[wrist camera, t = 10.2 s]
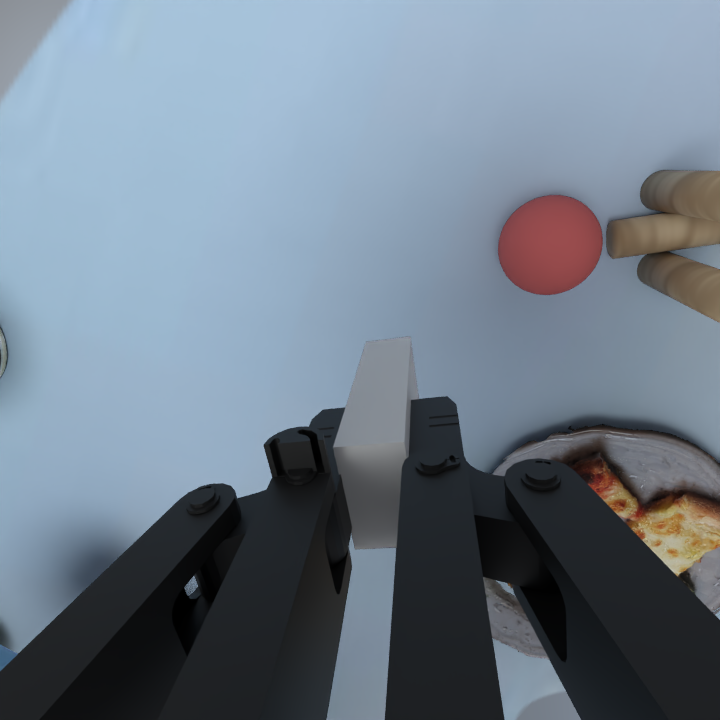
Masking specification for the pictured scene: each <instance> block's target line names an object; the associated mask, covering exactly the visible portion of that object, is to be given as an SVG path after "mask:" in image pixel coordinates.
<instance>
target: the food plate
mask: <svg viewBox="0 0 720 720" xmlns="http://www.w3.org/2000/svg"><path fill="white" fill-rule="evenodd" d="M570 427H571V426H570ZM570 427H569V429H570V430H572V431H573V432H574V433H571V434H568V433H566V432H558V433H557V432H556V433H554V434H551V435H550V436H549V437H548V438H547V439H546V440H545V441H541V442H537V441H535V440H534V441H529V442H527V443H526V444H524V445H522V446H521V447H520V448H518V449H517V450H515V452H513V453H511V454H510V455H509V456H507V457H509V458H508V459H506V458H507V457H506V458H504V459H506V461H505V462H503V463H501V464H500V465H499V466H498V467H497V468H496V469H495V471H494V472H493V473H492V474H493V475H499V476H505V473H506V470H507V469H508V468H509V467H511V466H512V465H513V464H514V463H517V462H520V461H523V460H526V459H537V458H540V459H549V460H554V461H557V462H560V463H563V464H566V465H567V466H568V467H570V468H571V469H573V470H574V471H575V472H576V473H577V474H578V475H579V476H580V477H581V478H582V479H583V480H584V481H585V482H586V483H587V484H588V485H589V486H590V487H591V488H592V489H593V490H594V491H595V492H596V493H597V494H598V495H599V496H600V497H601V498H602V499H603V500H604V501H605V502H606V504H607V505H608V506H609V507H610V508H611V509H612V510H613V511H614V512H615V513H616V514H617V515H618V516H619V517H620V518H621V519H622V520H623V521H624V522H625V523H626V524H627V525H628V526H629V527H630V528H631V529H632V530H633V531H634V532H635V533H636V534H637V535H638V536H639V537H640V538H641V540H642V541H643V542H644V543H645V544H646V545H647V546H648V547H649V548H650V549H651V550H652V551H653V552H654V553H655V554H656V555H657V556H658V557H659V558H660V559H661V560H662V561H663V562H664V563H665V564H666V565H667V566H668V567H669V568H670V569H671V570H672V571H673V572H674V573H675V575H676V576H677V577H678V578H679V579H680V580H681V581H682V582H683V583H684V584H685V585H686V586H687V587H688V588H689V589H690V590H691V591H692V592H693V593H694V594H695V595H696V596H697V597H698V598H699V599H700V600H701V601H702V602H703V603H704V604H705V605H706V606H707V607H708V608H709V609H710V611H711V612H712V613H713V614H714V615H715V614H716V613H718V612H719V611H720V609H718V610H716V609H717V608H720V463H718V462H717V460H715V458H713V457H712V456H711V455H709V454H708V453H707V452H705V451H703V450H702V449H700V448H699V447H698V446H696V445H695V444H693V443H691V442H689V441H688V440H687V441H686V440H684V439H681V438H679V437H677V436H675V435H672V434H668V433H664V432H659V431H653V430H638V429H637V430H633V429H631V430H630V429H623V428H616V427H611V426H607V425H603V424H602V425H596V426H592V427H588V426H585V427H582V428H577V429H575V430H574V429H571V428H570ZM483 580H484V586H485V593H486V600H487V606H488V613H489V620H490V626H491V633H492V638H494V639H496V640H499V641H500V642H501V643H504V644H506V645H509V646H511V647H513V648H514V649H517V650H518V652H522V653H524V654H525V655H527V656H531V657H538V658H547V659H549V658H548V656H547V654H546V652H545V650H544V648H543V646H542V645H541V643H540V641H539V639H538V637H537V635H536V633H535V631H534V629H533V627H532V626H531V624H530V622H529V620H528V618H527V616H526V614H525V612H524V610H523V609H522V607H521V605H520V603H519V601H518V599H517V597H515V596H514V595H512V594H511V593H508V592H507V591H505V590H504V589H503V588H502V586H501V585H500V584H499V583H498V582H496V581H495V580H493V579H489V578H485V577H483ZM508 586H510V587H511V588H513V587H512V584H510V583H508ZM715 610H716V611H715ZM714 611H715V612H714Z"/></svg>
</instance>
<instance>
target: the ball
mask: <svg viewBox="0 0 720 720" xmlns="http://www.w3.org/2000/svg"><path fill="white" fill-rule="evenodd" d="M602 244H603V238H602V231H601V227H600V224H599V222H598V220H597V218H596V216H595V215H594V213H593V212H592V211H591V210H590V209H589V208H588V207H587V206H586V205H584V204H583V203H581V202H580V201H578V200H576V199H573V198H571V197H567V196H561V195H549V196H543V197H539V198H536V199H533V200H531V201H529V202H527V203H525V204H524V205H522V206H521V207H520V208H518V209H517V210H516V211H515V212H514V213H513V214H512V215H511V216H510V218H509V219H508V220H507V222H506V223H505V225H504V227H503V229H502V232H501V235H500V238H499V244H498V255H499V260H500V264H501V266H502V268H503V271H504V272H505V274H506V276H507V277H508V278H509V279H510V280H511V281H512V282H513V283H514V284H515V285H516V286H518V287H519V288H521V289H523V290H525V291H527V292H530V293H534V294H540V295H552V294H558V293H562V292H565V291H568V290H570V289H572V288H574V287H575V286H577V285H579V284H580V283H581V282H583V281H584V280H585V279H586V278H587V277H588V276H589V275H590V274H591V272H592V271H593V270H594V268H595V266H596V265H597V263H598V260H599V258H600V255H601V251H602Z"/></svg>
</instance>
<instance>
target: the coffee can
mask: <svg viewBox="0 0 720 720" xmlns="http://www.w3.org/2000/svg"><path fill="white" fill-rule="evenodd" d="M6 362H7V349H6V343H5V338H4V335H3V333H2V331H1V328H0V377H1V376H2V374H3V372H4V370H5V367H6Z"/></svg>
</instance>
